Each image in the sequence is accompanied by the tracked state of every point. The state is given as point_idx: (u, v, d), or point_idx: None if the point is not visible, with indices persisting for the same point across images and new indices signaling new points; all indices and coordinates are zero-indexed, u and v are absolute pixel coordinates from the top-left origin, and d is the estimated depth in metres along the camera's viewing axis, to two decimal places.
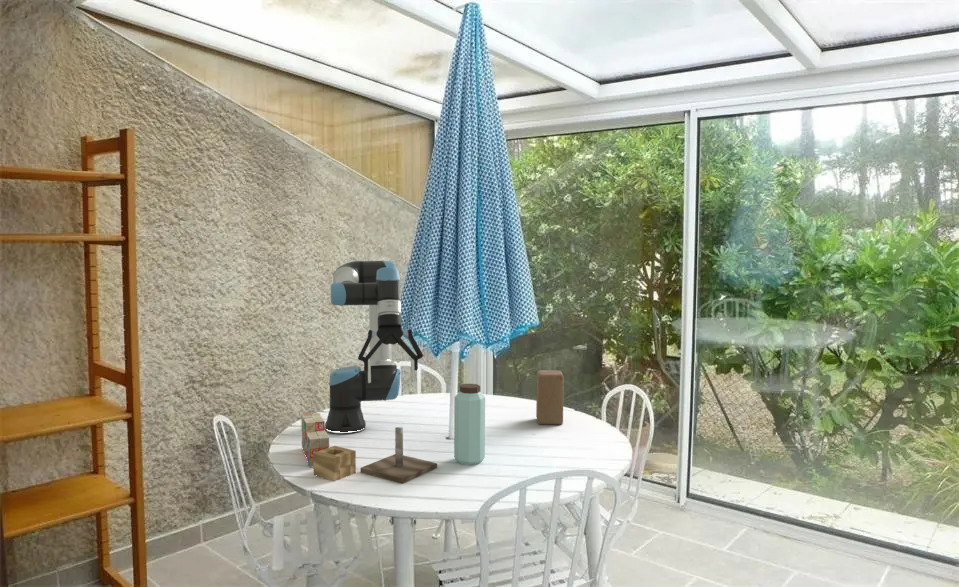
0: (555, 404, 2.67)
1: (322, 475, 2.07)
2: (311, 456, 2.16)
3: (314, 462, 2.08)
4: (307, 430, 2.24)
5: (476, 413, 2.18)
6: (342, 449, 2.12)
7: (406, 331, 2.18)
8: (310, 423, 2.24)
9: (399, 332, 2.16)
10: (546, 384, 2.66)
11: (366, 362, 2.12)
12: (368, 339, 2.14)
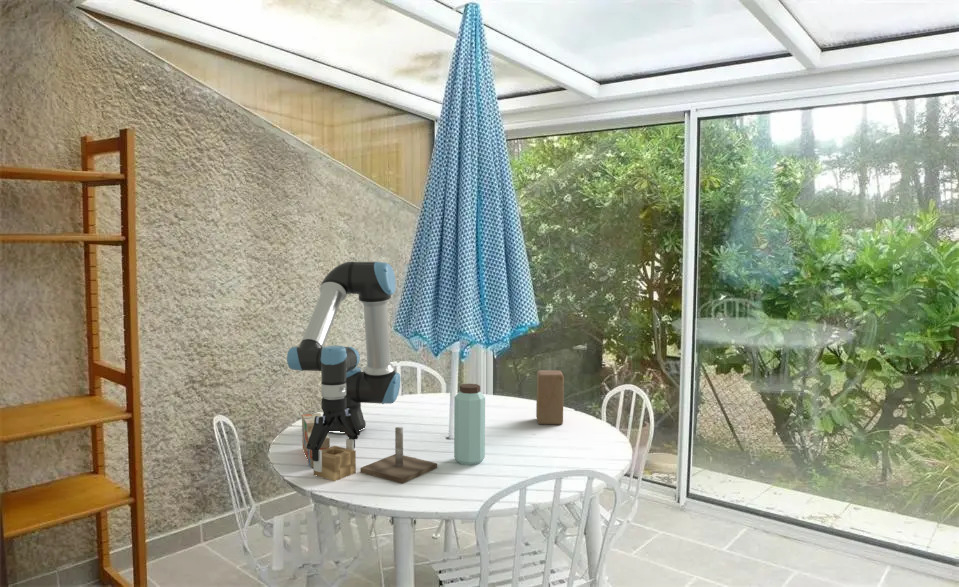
0: (555, 404, 2.67)
1: (322, 475, 2.07)
2: None
3: None
4: (308, 430, 2.23)
5: (476, 413, 2.18)
6: (342, 449, 2.12)
7: (347, 411, 2.13)
8: (311, 423, 2.24)
9: (343, 414, 2.11)
10: (546, 384, 2.66)
11: (317, 451, 2.03)
12: (320, 427, 2.02)
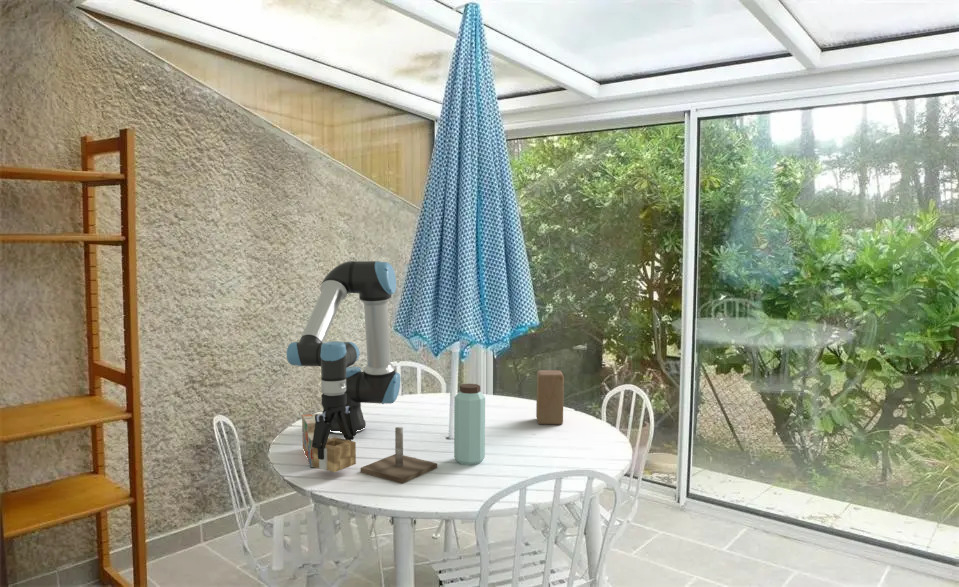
0: (555, 404, 2.67)
1: None
2: (312, 457, 2.15)
3: (314, 453, 2.09)
4: (308, 431, 2.23)
5: (476, 413, 2.18)
6: (342, 440, 2.12)
7: (347, 408, 2.13)
8: (311, 424, 2.23)
9: (343, 409, 2.11)
10: (546, 384, 2.66)
11: (323, 449, 2.05)
12: (322, 426, 2.03)
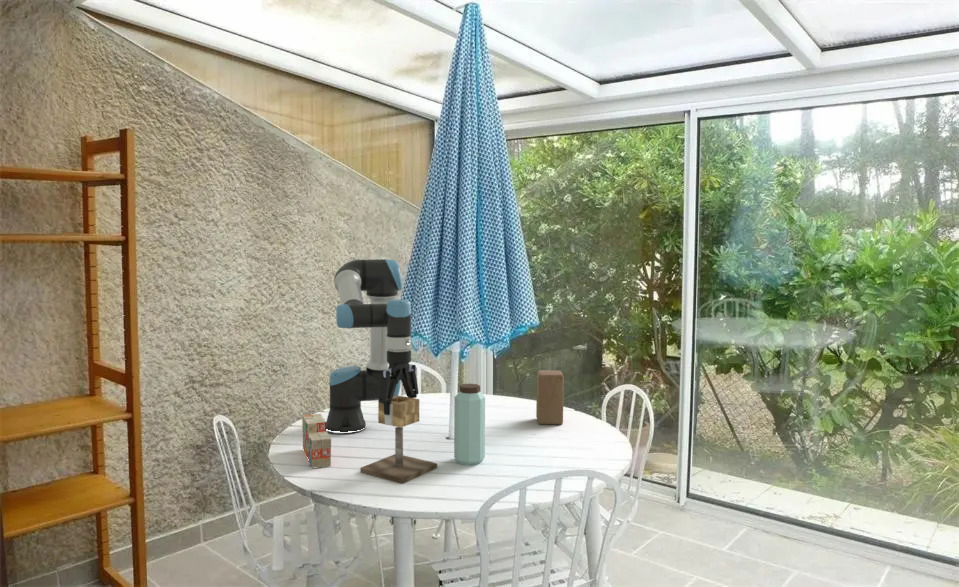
0: (555, 404, 2.67)
1: None
2: (313, 457, 2.15)
3: (379, 410, 2.11)
4: (308, 431, 2.23)
5: (476, 413, 2.18)
6: (406, 398, 2.15)
7: (410, 366, 2.16)
8: (311, 424, 2.23)
9: (407, 367, 2.13)
10: (546, 384, 2.66)
11: (389, 405, 2.08)
12: (388, 381, 2.06)
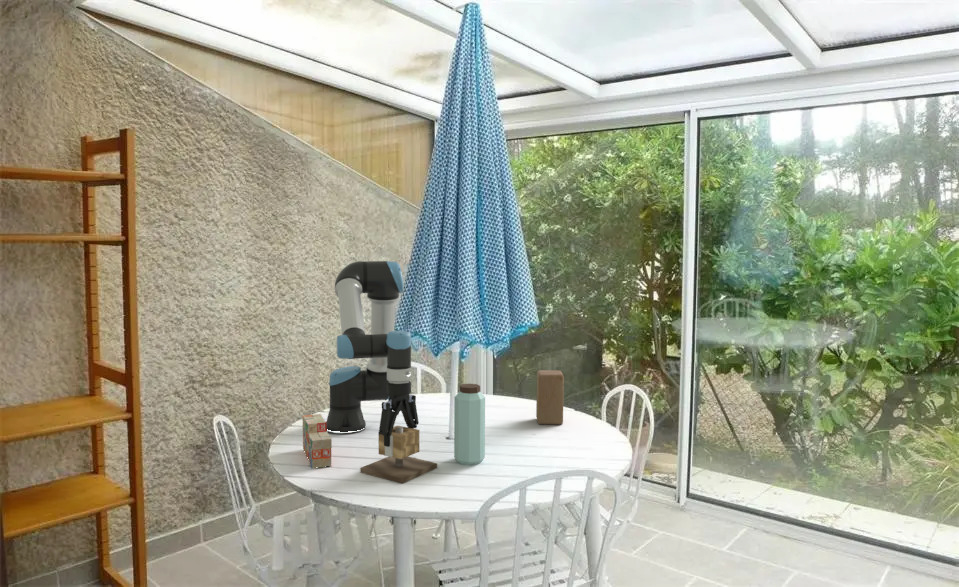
0: (555, 404, 2.67)
1: None
2: (313, 457, 2.15)
3: (379, 441, 2.12)
4: (309, 431, 2.22)
5: (476, 413, 2.18)
6: (406, 428, 2.16)
7: (410, 397, 2.16)
8: (312, 424, 2.23)
9: (407, 398, 2.14)
10: (546, 384, 2.66)
11: (389, 436, 2.08)
12: (388, 413, 2.07)
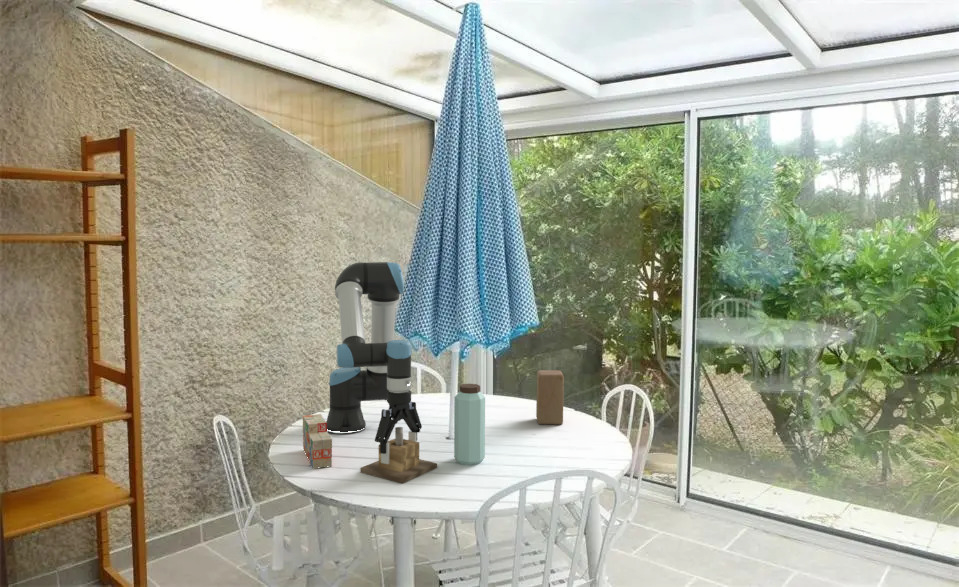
0: (555, 404, 2.67)
1: (388, 466, 2.11)
2: (314, 458, 2.14)
3: (379, 454, 2.12)
4: (309, 431, 2.22)
5: (476, 413, 2.18)
6: (406, 441, 2.16)
7: (410, 404, 2.17)
8: (312, 424, 2.22)
9: (407, 407, 2.14)
10: (546, 384, 2.66)
11: (385, 444, 2.07)
12: (387, 420, 2.06)
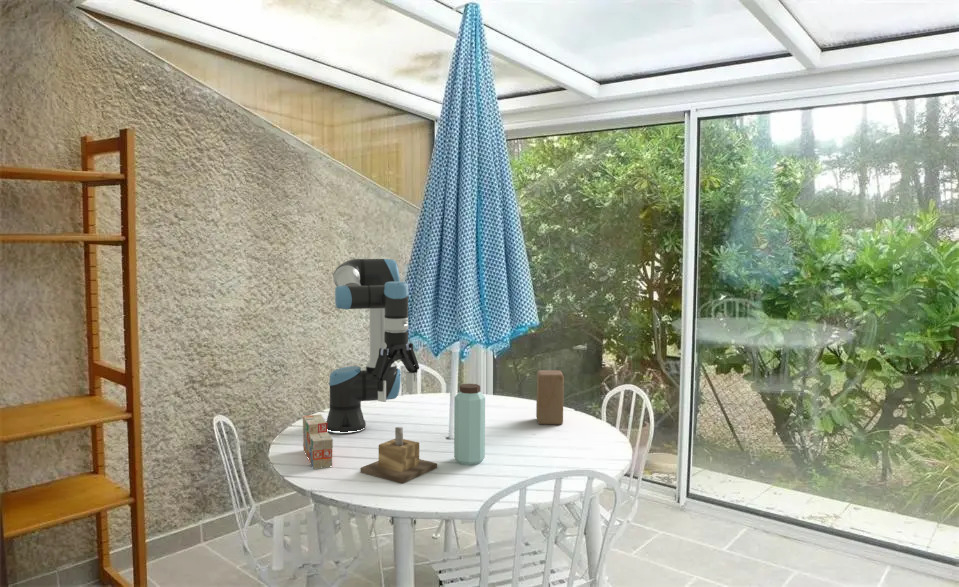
0: (555, 404, 2.67)
1: (388, 466, 2.11)
2: (314, 458, 2.14)
3: (379, 454, 2.12)
4: (310, 432, 2.22)
5: (476, 413, 2.18)
6: (406, 441, 2.16)
7: (408, 345, 2.20)
8: (313, 425, 2.22)
9: (405, 348, 2.17)
10: (546, 384, 2.66)
11: (381, 382, 2.10)
12: (384, 359, 2.09)
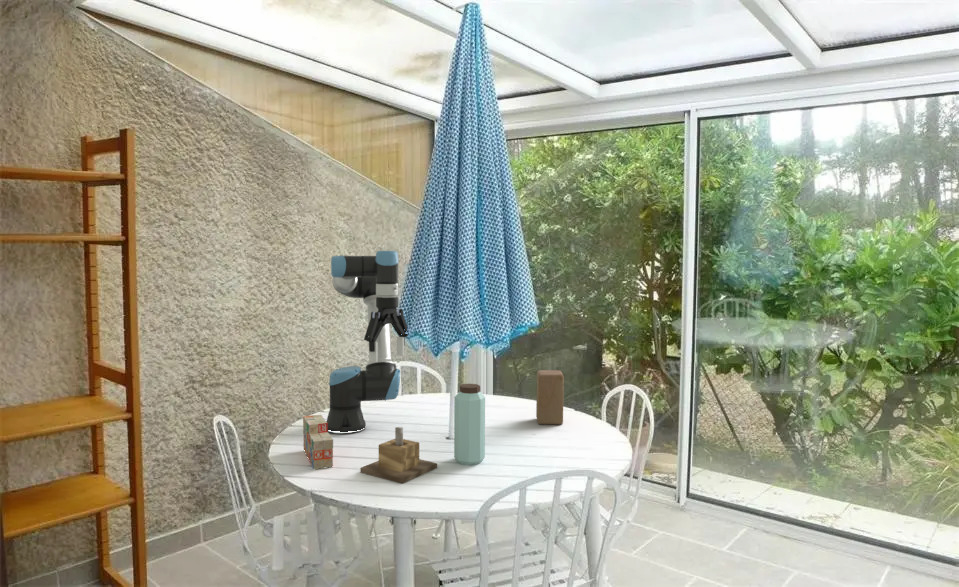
0: (555, 404, 2.67)
1: (388, 466, 2.11)
2: (315, 458, 2.14)
3: (379, 454, 2.12)
4: (310, 432, 2.22)
5: (476, 413, 2.18)
6: (406, 441, 2.16)
7: (398, 311, 2.35)
8: (313, 425, 2.22)
9: (395, 312, 2.33)
10: (546, 384, 2.66)
11: (373, 343, 2.25)
12: (376, 321, 2.25)
